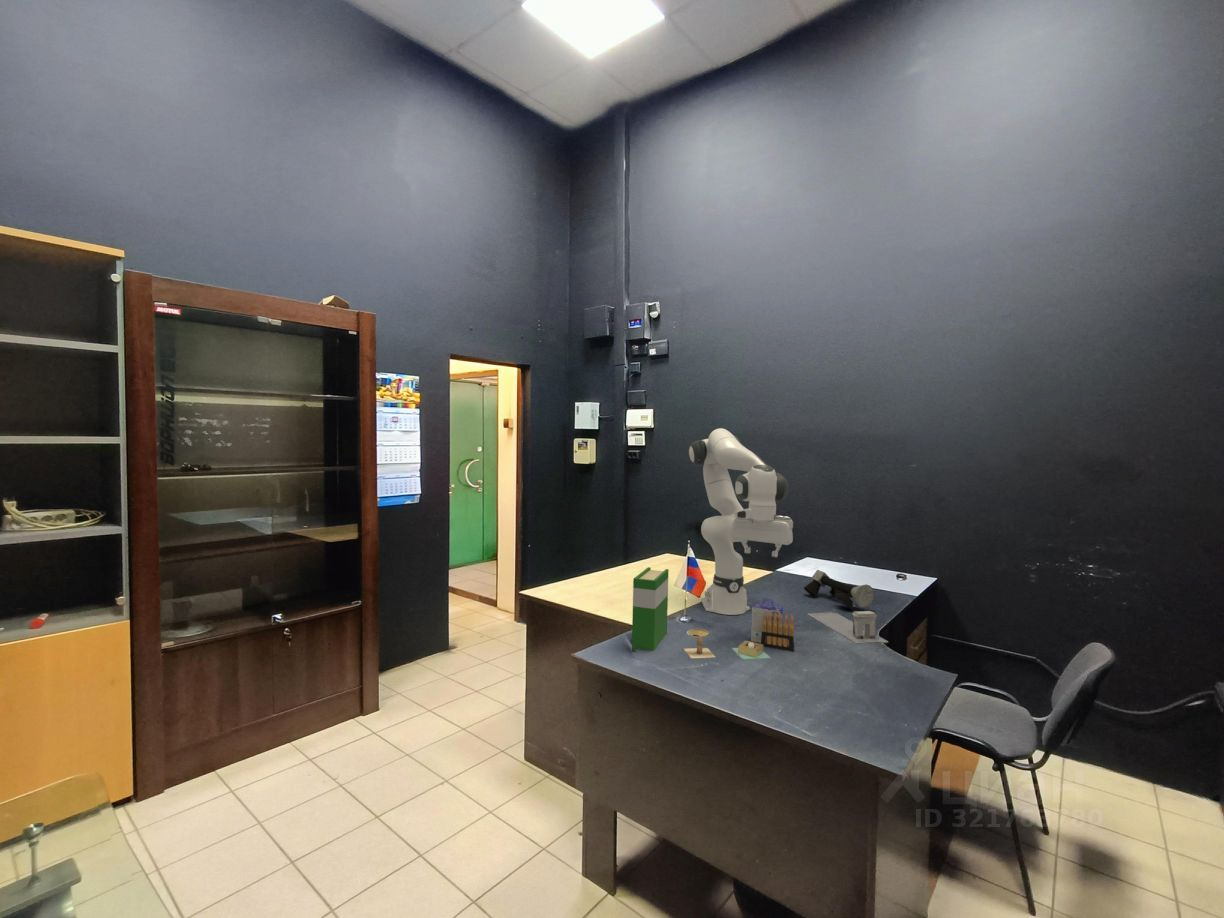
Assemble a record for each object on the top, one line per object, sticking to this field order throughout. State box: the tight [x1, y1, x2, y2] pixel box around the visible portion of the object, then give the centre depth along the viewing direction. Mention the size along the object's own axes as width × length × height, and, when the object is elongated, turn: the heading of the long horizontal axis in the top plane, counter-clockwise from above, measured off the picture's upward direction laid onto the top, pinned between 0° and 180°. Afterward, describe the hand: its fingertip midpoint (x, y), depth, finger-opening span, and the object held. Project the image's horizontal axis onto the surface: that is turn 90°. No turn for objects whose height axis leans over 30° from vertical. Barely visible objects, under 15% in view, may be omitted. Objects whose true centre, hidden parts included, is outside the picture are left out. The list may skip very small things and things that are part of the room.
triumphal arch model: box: [807, 610, 889, 645], centre depth 209 cm, size 12×33×10 cm, turn 10°
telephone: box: [803, 569, 875, 611], centre depth 241 cm, size 15×13×30 cm
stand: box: [683, 636, 716, 659], centre depth 176 cm, size 8×8×6 cm
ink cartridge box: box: [750, 598, 784, 644], centre depth 192 cm, size 10×6×14 cm, turn 64°
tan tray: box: [737, 640, 764, 658], centre depth 176 cm, size 6×6×2 cm
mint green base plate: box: [731, 641, 771, 662], centre depth 176 cm, size 9×9×5 cm
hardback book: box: [631, 566, 670, 653], centre depth 187 cm, size 18×7×24 cm, turn 161°
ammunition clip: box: [760, 611, 795, 653], centre depth 186 cm, size 11×2×12 cm, turn 66°
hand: (760, 554), depth 186 cm, fingers open, 8 cm apart
